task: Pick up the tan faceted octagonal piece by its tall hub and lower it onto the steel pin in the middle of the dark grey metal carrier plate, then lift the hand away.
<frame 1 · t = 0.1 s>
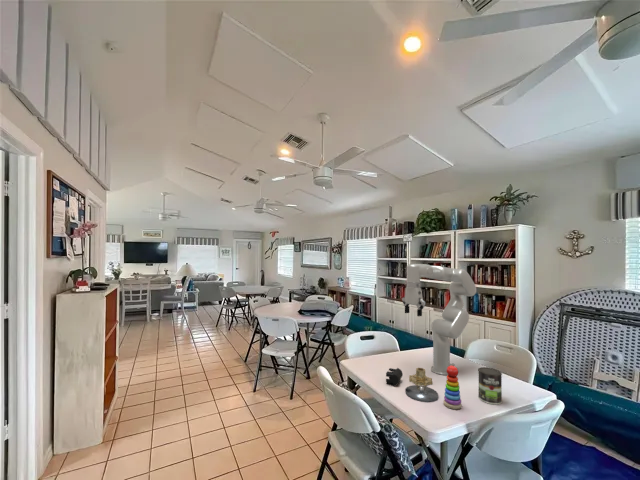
hand: (413, 314, 174), 37 cm above the table, tool pointing down, fingers open, 9 cm apart
tan faceted octagonal piece: (420, 381, 169), on the table
carrier plate: (421, 394, 152), on the table
stacking toy: (452, 406, 141), on the table
coffee can: (490, 400, 148), on the table
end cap: (394, 383, 166), on the table
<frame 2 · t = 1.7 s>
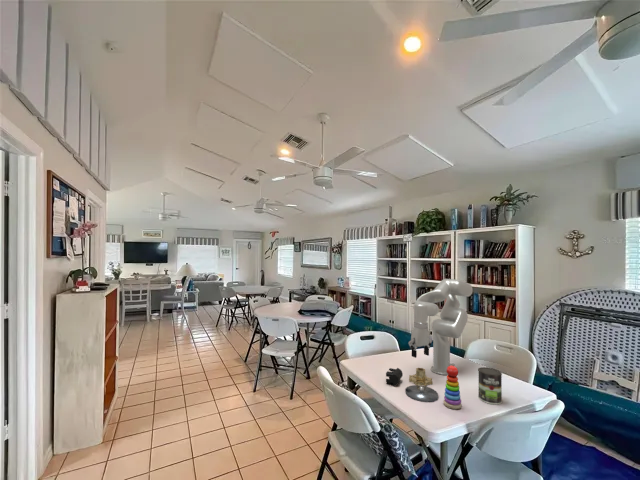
hand: (420, 355, 169), 14 cm above the table, tool pointing down, fingers open, 9 cm apart
nothing on the table moved.
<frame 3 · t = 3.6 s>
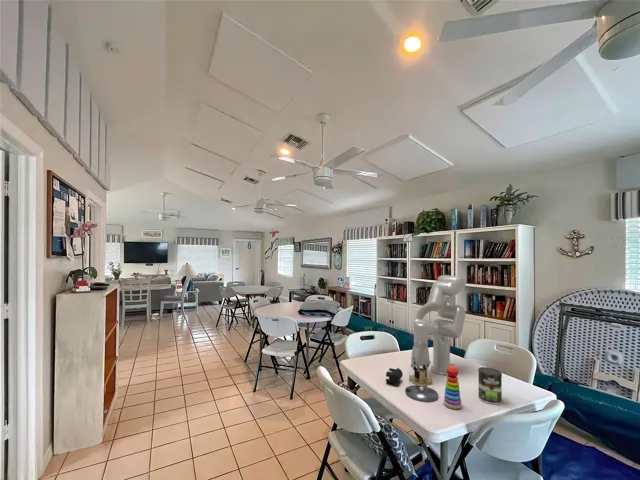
hand: (420, 376, 169), 2 cm above the table, tool pointing down, fingers closed on tan faceted octagonal piece, 5 cm apart
tan faceted octagonal piece: (420, 381, 169), on the table, touching gripper
everything else where it was.
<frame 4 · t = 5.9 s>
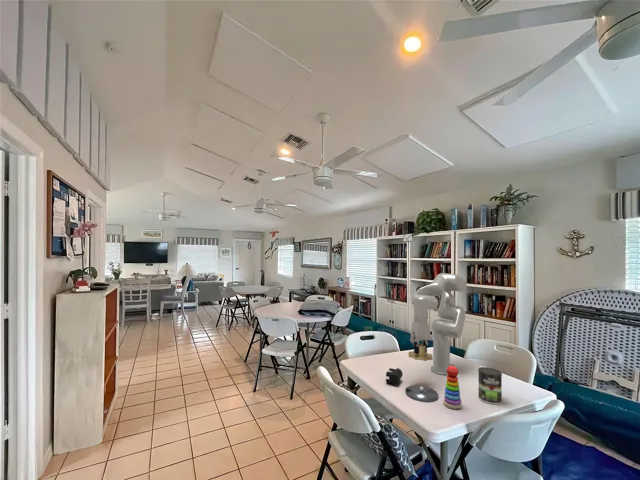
hand: (420, 352, 163), 18 cm above the table, tool pointing down, fingers closed on tan faceted octagonal piece, 5 cm apart
tan faceted octagonal piece: (420, 357, 163), point 16 cm above the table, touching gripper
everything else where it was.
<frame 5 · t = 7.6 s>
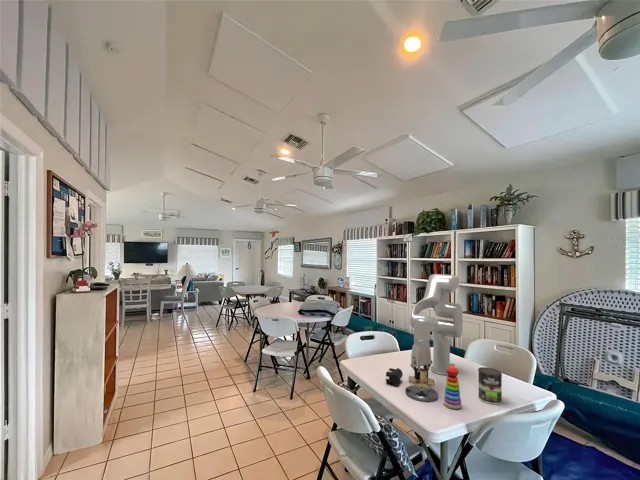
hand: (421, 378, 153), 8 cm above the table, tool pointing down, fingers closed on tan faceted octagonal piece, 5 cm apart
tan faceted octagonal piece: (421, 382, 152), point 6 cm above the table, touching gripper
everything else where it was.
when the fingers open (5 cm above the table, at t = 8.6 s): tan faceted octagonal piece drops 1 cm, resting on carrier plate.
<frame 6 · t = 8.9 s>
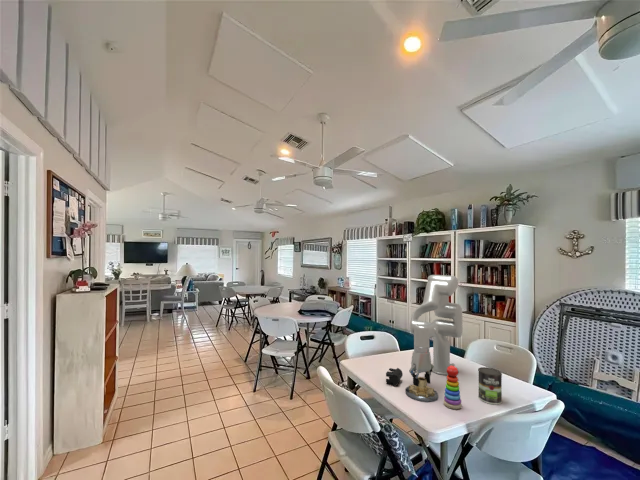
hand: (421, 383, 153), 5 cm above the table, tool pointing down, fingers open, 7 cm apart
tan faceted octagonal piece: (421, 391, 153), point 1 cm above the table, touching carrier plate
everything else where it was.
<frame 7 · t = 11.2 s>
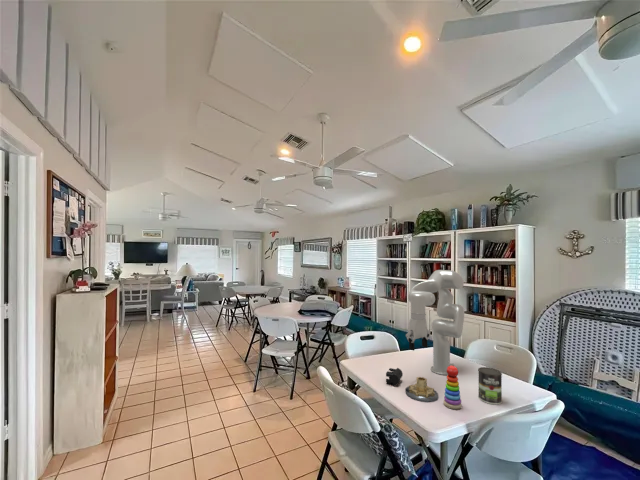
hand: (418, 348, 160), 21 cm above the table, tool pointing down, fingers open, 9 cm apart
nothing on the table moved.
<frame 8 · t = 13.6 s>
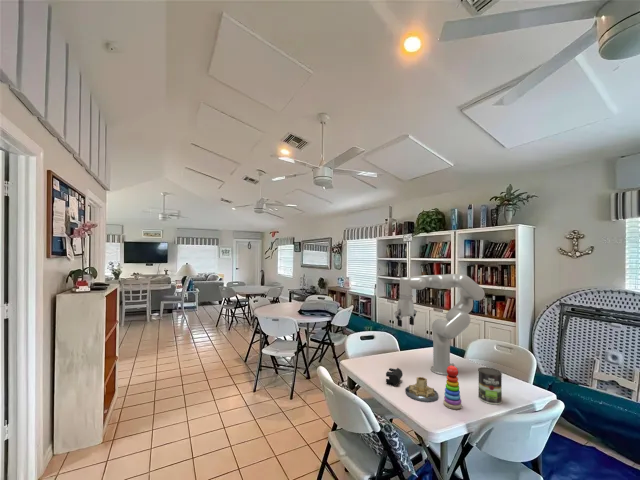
hand: (405, 325, 182), 28 cm above the table, tool pointing down, fingers open, 9 cm apart
nothing on the table moved.
at the end: tan faceted octagonal piece 0.1 cm off-centre on the carrier plate, point 1.2 cm above the carrier plate's base; tan faceted octagonal piece tilted 0°; the gripper is holding nothing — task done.
